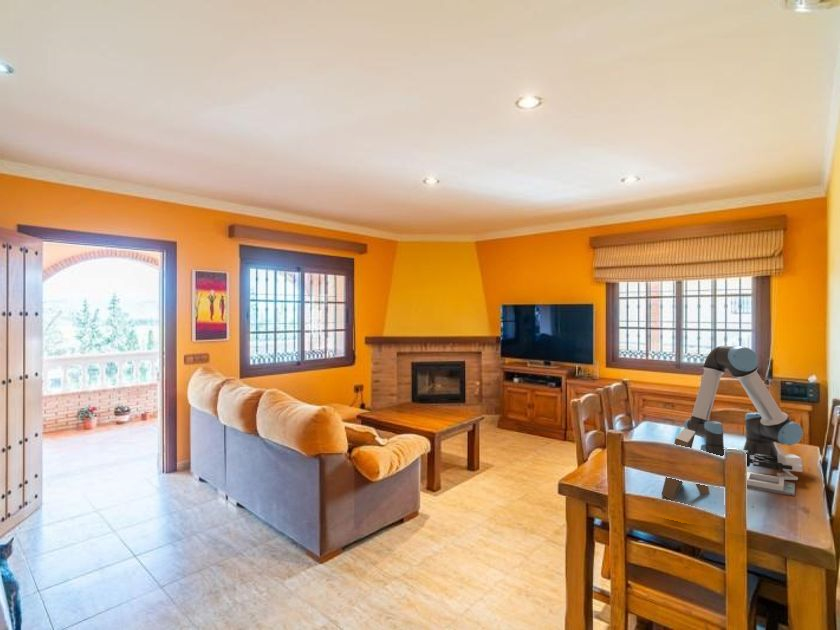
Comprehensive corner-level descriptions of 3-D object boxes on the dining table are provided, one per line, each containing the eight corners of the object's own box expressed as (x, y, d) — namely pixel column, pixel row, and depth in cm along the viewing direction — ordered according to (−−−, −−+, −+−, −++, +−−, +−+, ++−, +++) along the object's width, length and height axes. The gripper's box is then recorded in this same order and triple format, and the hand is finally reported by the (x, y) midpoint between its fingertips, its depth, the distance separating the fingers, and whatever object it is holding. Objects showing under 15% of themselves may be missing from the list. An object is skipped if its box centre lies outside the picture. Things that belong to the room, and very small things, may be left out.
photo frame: (661, 497, 178) (659, 436, 178) (671, 482, 194) (669, 426, 195) (704, 506, 168) (702, 441, 169) (710, 489, 185) (709, 431, 186)
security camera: (802, 480, 192) (801, 457, 192) (784, 479, 193) (783, 457, 193) (793, 475, 198) (792, 453, 198) (776, 475, 199) (775, 453, 200)
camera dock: (737, 476, 200) (737, 469, 200) (794, 485, 187) (794, 478, 187) (734, 485, 189) (733, 478, 189) (794, 496, 176) (794, 488, 176)
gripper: (742, 459, 216) (802, 468, 201) (737, 471, 200) (802, 481, 185) (741, 444, 216) (801, 452, 201) (736, 454, 200) (801, 463, 185)
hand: (802, 466), depth 193 cm, fingers closed on security camera, 8 cm apart
